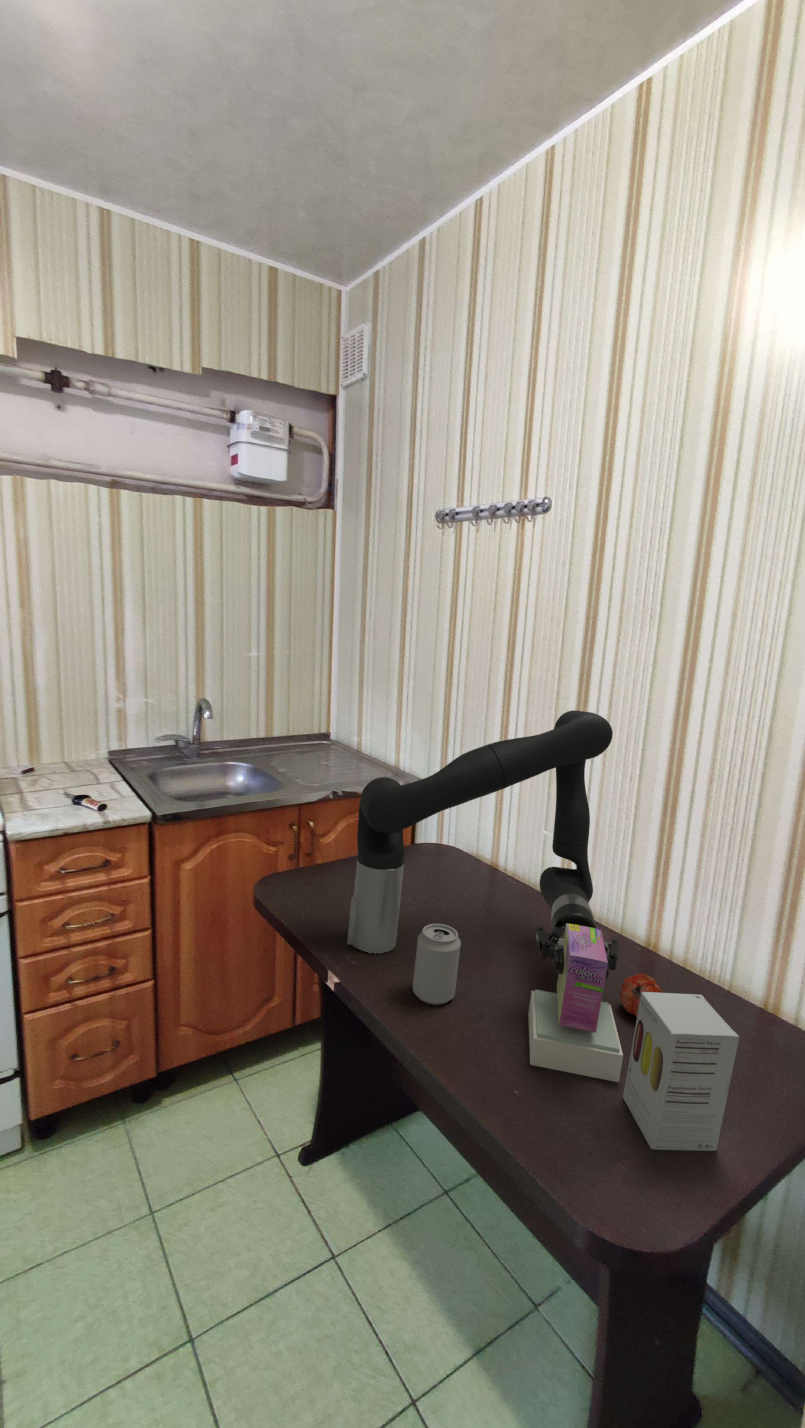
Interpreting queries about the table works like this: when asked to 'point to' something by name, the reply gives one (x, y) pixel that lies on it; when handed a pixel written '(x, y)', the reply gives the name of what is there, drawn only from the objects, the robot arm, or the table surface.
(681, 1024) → the supplement box
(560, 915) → the robot arm
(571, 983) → the box
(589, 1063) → the podium
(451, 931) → the can
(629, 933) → the table surface
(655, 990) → the pomegranate
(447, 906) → the table surface
